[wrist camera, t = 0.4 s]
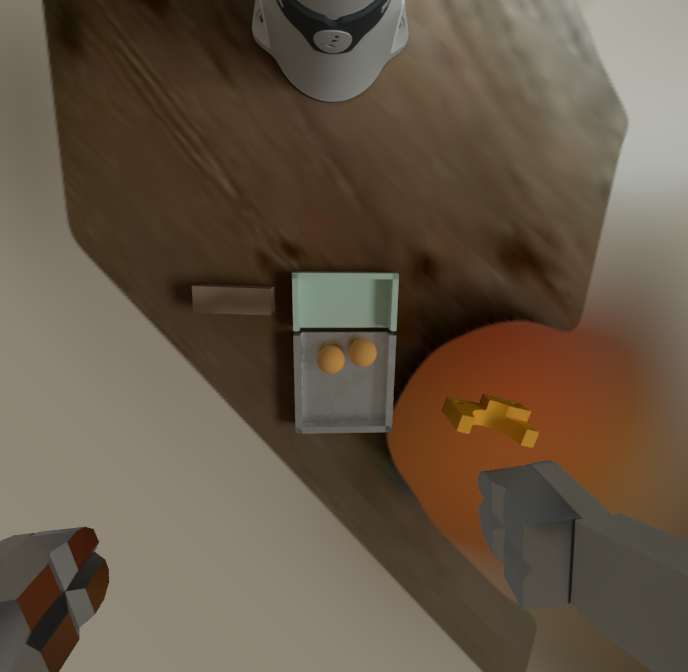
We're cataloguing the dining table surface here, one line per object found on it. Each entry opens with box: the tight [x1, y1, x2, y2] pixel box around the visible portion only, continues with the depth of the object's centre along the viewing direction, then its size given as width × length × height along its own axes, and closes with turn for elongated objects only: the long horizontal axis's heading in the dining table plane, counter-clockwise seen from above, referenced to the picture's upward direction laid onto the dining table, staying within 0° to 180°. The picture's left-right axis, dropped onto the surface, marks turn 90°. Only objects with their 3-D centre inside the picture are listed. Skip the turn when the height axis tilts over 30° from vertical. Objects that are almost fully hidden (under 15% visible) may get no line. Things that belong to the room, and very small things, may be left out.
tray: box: [292, 271, 399, 331], centre depth 50 cm, size 8×14×3 cm, turn 89°
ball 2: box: [349, 339, 377, 367], centre depth 50 cm, size 4×4×4 cm
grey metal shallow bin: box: [293, 330, 396, 434], centre depth 52 cm, size 15×14×3 cm
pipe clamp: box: [442, 394, 539, 448], centre depth 54 cm, size 12×4×6 cm, turn 75°
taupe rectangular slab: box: [192, 283, 275, 315], centre depth 48 cm, size 4×10×4 cm, turn 87°
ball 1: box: [317, 346, 345, 374], centre depth 50 cm, size 4×4×4 cm
